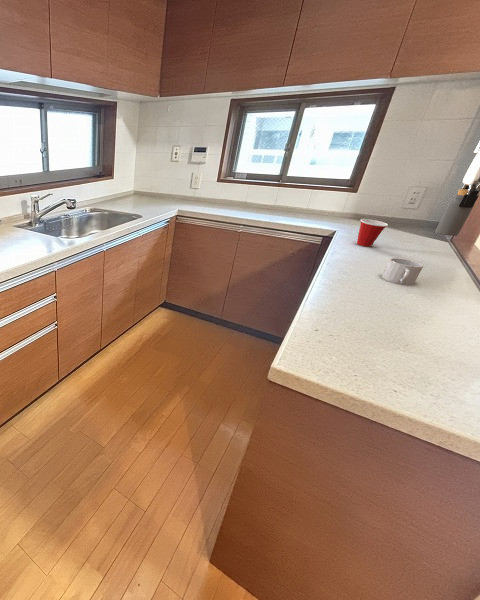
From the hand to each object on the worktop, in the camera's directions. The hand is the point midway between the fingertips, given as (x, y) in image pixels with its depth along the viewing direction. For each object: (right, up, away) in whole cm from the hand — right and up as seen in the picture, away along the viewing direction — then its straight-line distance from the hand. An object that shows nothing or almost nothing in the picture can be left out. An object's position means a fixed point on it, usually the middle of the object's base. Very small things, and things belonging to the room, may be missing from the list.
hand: (462, 205), depth 111 cm
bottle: (-1, -9, +5) cm, 10 cm away
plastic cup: (+12, -5, +52) cm, 53 cm away
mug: (-13, -26, +9) cm, 30 cm away
